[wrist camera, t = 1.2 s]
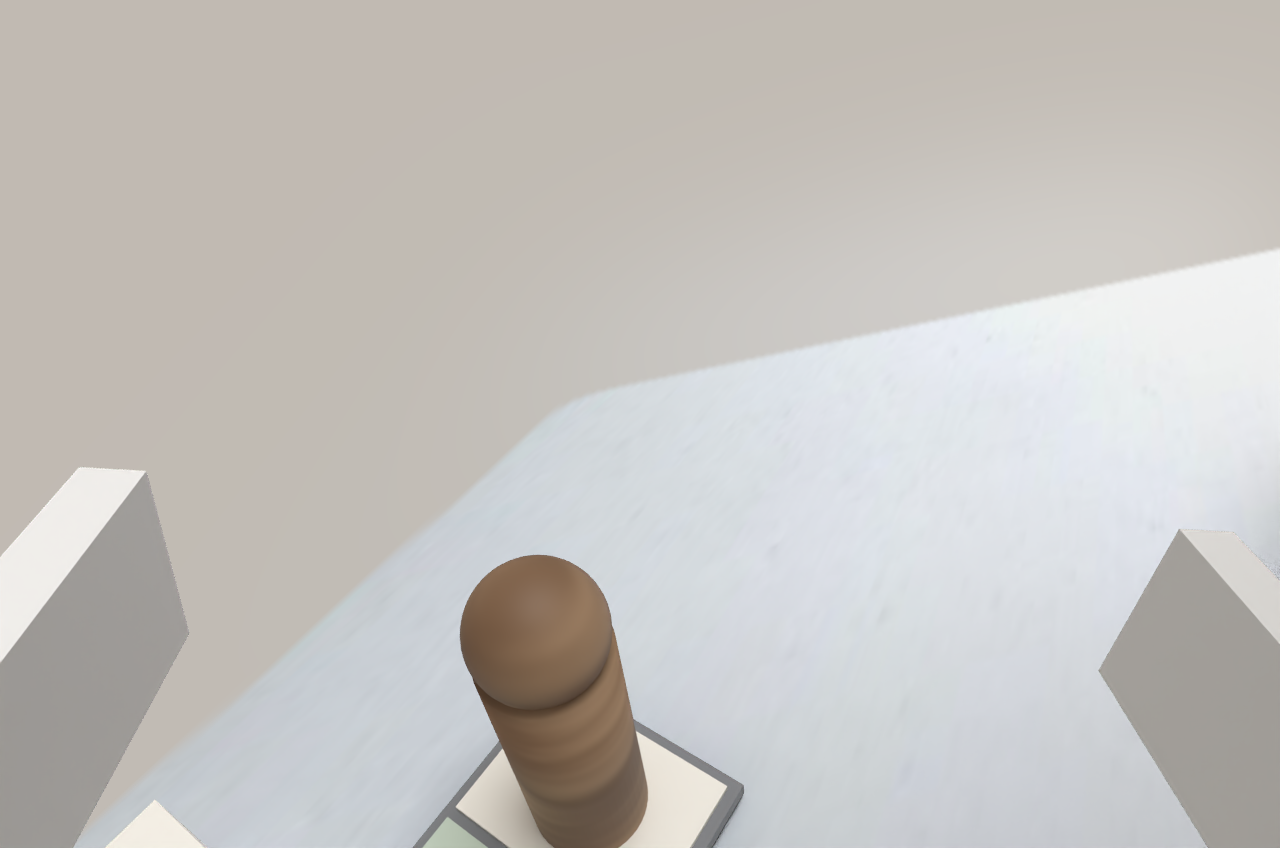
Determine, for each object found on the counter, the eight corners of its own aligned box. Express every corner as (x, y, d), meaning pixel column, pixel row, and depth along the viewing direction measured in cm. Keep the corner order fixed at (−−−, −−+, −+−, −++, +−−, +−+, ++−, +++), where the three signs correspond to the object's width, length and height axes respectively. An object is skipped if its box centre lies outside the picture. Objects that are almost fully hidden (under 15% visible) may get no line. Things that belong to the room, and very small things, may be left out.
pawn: (670, 778, 30) (632, 562, 21) (602, 882, 27) (531, 684, 19) (579, 721, 31) (514, 503, 23) (509, 815, 29) (409, 609, 21)
